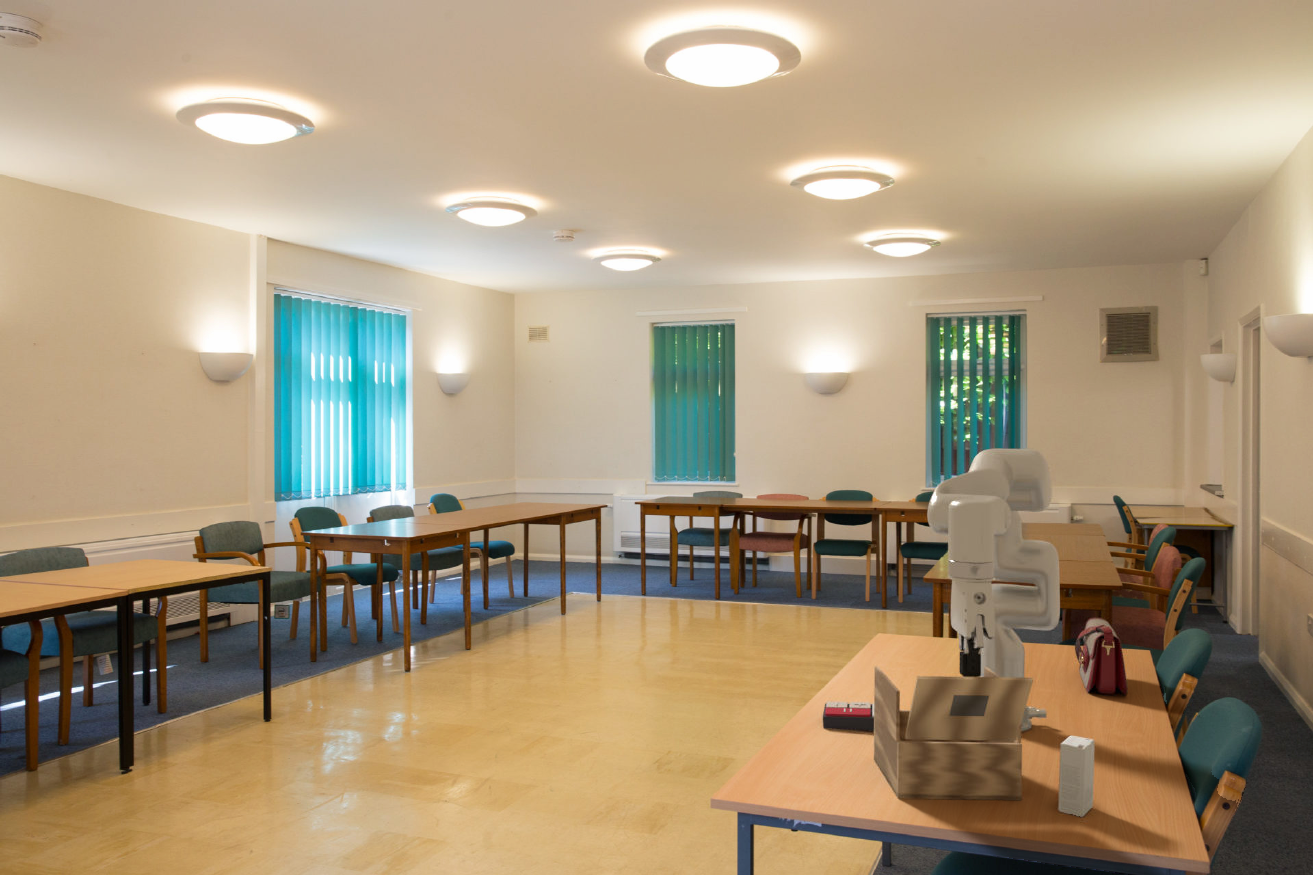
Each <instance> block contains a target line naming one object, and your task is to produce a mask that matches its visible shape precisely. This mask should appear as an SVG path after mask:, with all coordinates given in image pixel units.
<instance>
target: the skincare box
mask: <svg viewBox="0 0 1313 875" xmlns="http://www.w3.org/2000/svg"><path fill="white" fill-rule="evenodd" d="M1095 742H1096V741H1095V740H1094V739H1092V738H1088V737H1082V736H1077V735H1070V736H1068V737H1067V738H1066V739H1065V740H1063V741H1062V742H1060V746H1059V747H1060V748H1059V749H1060V751H1059V753H1060V754H1059V775H1058V777H1059V779H1058V780H1059V781H1058V805H1057V808H1058V812H1061V813H1064V814H1066V815H1070V814H1073V815H1072V816H1074V815H1076V816H1075V817H1079V816H1080V817H1081V818H1084V816H1086V814H1087V813H1088V812H1089V811H1090V810H1091V809H1092V808H1093V806H1094V805H1093V804H1094V781H1095V780H1094V777H1095V775H1094V774H1095V768H1094V767H1095Z"/></svg>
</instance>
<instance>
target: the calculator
mask: <svg viewBox="0 0 1313 875" xmlns="http://www.w3.org/2000/svg"><path fill="white" fill-rule="evenodd" d="M822 727H823V729H829V730H840V731H841V730H842V731H856V732H857V731H858V732H859V731H860V732H861V731H862V732H864V731H865V732H872V733H874V702H873V703H872V702H870V701H864V702H863V701H850V702H848V701H832V700H831V701H829V700H828V701H826V703H825V704H824V707H823V714H822Z"/></svg>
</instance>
